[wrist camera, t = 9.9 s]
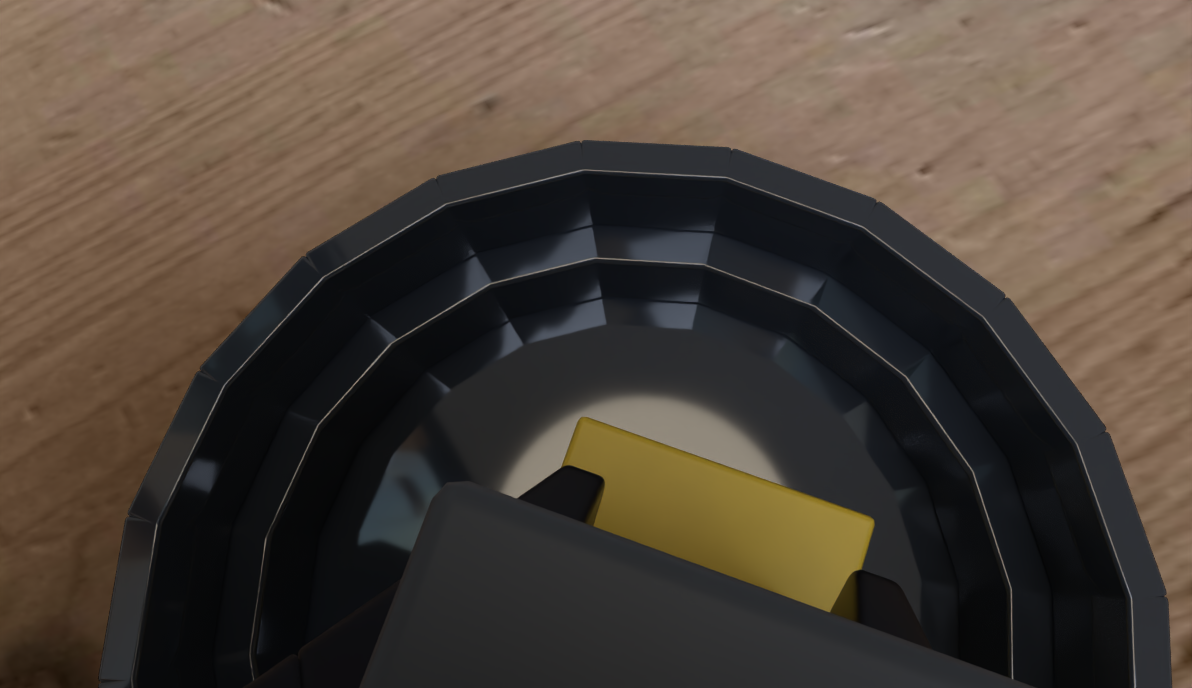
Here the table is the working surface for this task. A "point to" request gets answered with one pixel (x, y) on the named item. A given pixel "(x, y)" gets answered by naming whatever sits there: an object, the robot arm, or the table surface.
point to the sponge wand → (644, 587)
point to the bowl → (635, 411)
